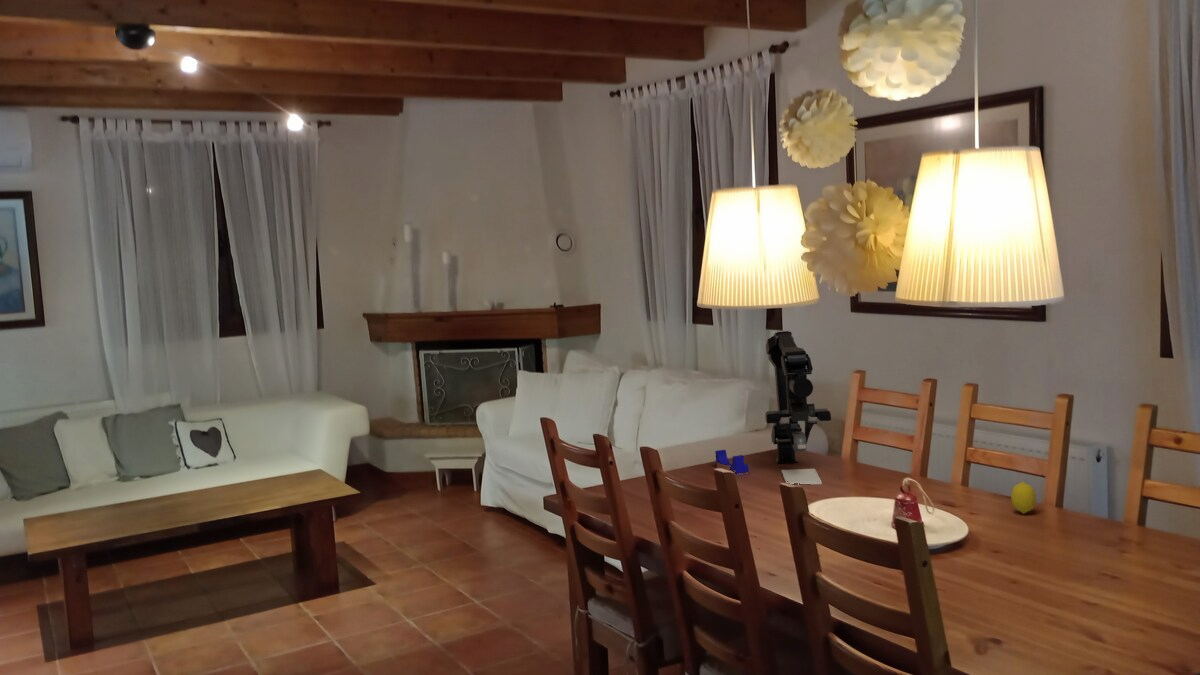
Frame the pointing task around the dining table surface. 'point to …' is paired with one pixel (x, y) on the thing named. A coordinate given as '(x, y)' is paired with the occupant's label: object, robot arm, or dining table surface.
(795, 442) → the connector
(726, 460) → the cable clip
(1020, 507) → the lemon
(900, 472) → the dining table surface
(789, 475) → the mat
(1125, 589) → the dining table surface
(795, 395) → the robot arm
